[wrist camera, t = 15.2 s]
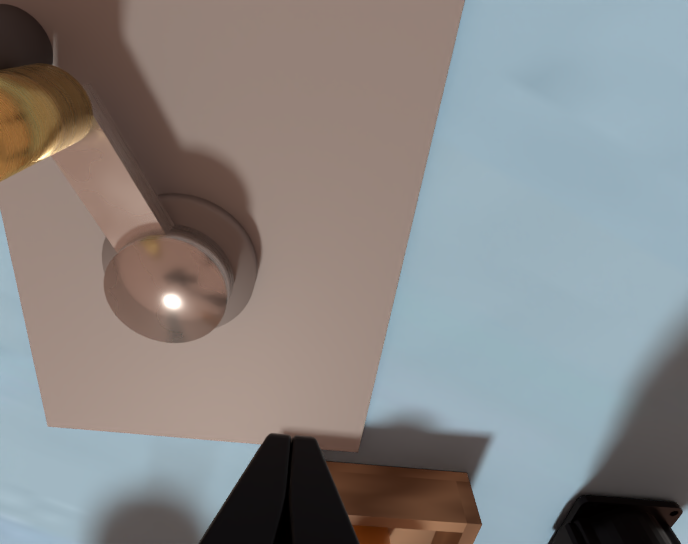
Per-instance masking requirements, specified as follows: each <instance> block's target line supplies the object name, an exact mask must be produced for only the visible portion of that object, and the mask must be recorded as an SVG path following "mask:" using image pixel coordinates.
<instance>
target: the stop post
mask: <svg viewBox="0 0 688 544" xmlns="http://www.w3.org/2000/svg"><path fill="white" fill-rule="evenodd" d="M36 63H43V64H50V65H52V64H53V50H52V45H51V42H50V40H49V37H48V35H47V34H46V32H45V30H44V29H43V27H42V26H41V25H40V24H39V22H38V21H37V20H36V19H35V18H34V17H32V16H31V15H30V14H29V13H27V12H26V11H24V10H22V9H20V8H18V7H15V6H12V5H8V4H0V70H2V69H8V68H14V67H19V66H25V65H30V64H36Z"/></svg>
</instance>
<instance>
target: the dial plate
mask: <svg viewBox="0 0 688 544" xmlns="http://www.w3.org/2000/svg"><path fill="white" fill-rule="evenodd" d="M464 2H465V0H0V4H8V5H12V6H15V7H18V8H20V9H22V10H24V11H26V12H27V13H29V14H30V15H31V16H32V17H34V18H35V19H36V20H37V21H38V22H39V24H40V25H41V26H42V27H43V29H44V30H45V32H46V34H47V35H48V37H49V40H50V42H51V45H52V50H53V64H52V65H53V66H56V67H59V68H61V69H63V70H65V71H66V72H68V73H69V74H70V75H72V76H73V77H74V78H75V79H76V80H77V81H78V82H79V83H80V84H81V85H85V84H89V83H91V84H92V86H93V87H94V89H95V91H96V92H97V94H98V96H99V97H100V99H101V101H102V102H103V104H104V106H105V107H106V109H107V111H108V113H109V114H110V116H111V118H112V119H113V121H114V123H115V124H116V126H117V128H118V129H119V131H120V133H121V134H122V136H123V138H124V140H125V141H126V143H127V145H128V146H129V148H130V150H131V151H132V153H133V155H134V156H135V158H136V160H137V162H138V163H139V165H140V167H141V168H142V170H143V172H144V173H145V175H146V177H147V178H148V180H149V182H150V183H151V185H152V187H153V189H154V190H155V192H156V194H157V195H158V197H159V199H160V200H161V202H162V204H163V205H164V207H165V209H166V210H167V212H168V214H169V216H170V217H171V219H172V221H173V222H174V224H178V225H183V226H187V227H190V228H193V229H195V230H198V231H200V232H202V233H203V234H205V235H207V236H208V237H210V238H211V239H212V240H214V241H215V242H216V243H217V244H218V245H219V246H220V247H221V249H222V250H223V251H224V253H225V254H226V256H227V257H228V259H229V261H230V263H231V267H232V270H233V276H234V284H233V290H232V293H231V296H230V299H229V301H228V304H227V307H226V310H225V313H224V315H223V317H222V319H221V321H220V323H219V324H218V325H217V327H216V328H215V329H214V330H213V331H211V332H210V333H209V334H207V335H205V336H204V337H202V338H199V339H197V340H194V341H190V342H184V343H166V342H160V341H156V340H152V339H149V338H147V337H144V336H142V335H140V334H138V333H136V332H134V331H133V330H131V329H130V328H128V327H127V326H126V325H125V324H123V323H122V322H121V321H120V320H119V319H118V317H117V316H116V315H115V314H114V313H113V311H112V309H111V308H110V306H109V304H108V302H107V300H106V296H105V293H104V274H105V271H106V268H107V266H108V264H109V263H110V261H111V260H112V259H113V257H114V256H115V255H116V254H117V252H116V251H115V249H114V248H113V246H112V245H111V243H110V242H109V240H108V239H107V237H106V236H105V234H104V233H103V231H102V230H101V228H100V227H99V226H98V224H97V223H96V221H95V220H94V218H93V217H92V215H91V214H90V212H89V211H88V209H87V208H86V206H85V205H84V204H83V202H82V201H81V199H80V198H79V196H78V195H77V193H76V192H75V190H74V189H73V187H72V186H71V184H70V183H69V181H68V180H67V179H66V177H65V176H64V174H63V173H62V171H61V170H60V168H59V167H58V165H57V164H56V162H55V161H54V159H53V158H52V156H49V157H47V158H45V159H43V160H42V161H40V162H38V163H36V164H34V165H32V166H30V167H28V168H26V169H24V170H22V171H20V172H18V173H16V174H14V175H12V176H10V177H9V178H7V179H5V180H3V181H1V182H0V209H1V214H2V218H3V223H4V227H5V232H6V237H7V241H8V246H9V250H10V255H11V260H12V264H13V269H14V273H15V278H16V283H17V287H18V292H19V296H20V301H21V306H22V310H23V315H24V319H25V324H26V329H27V333H28V338H29V342H30V347H31V352H32V356H33V361H34V365H35V370H36V374H37V379H38V384H39V388H40V393H41V397H42V402H43V407H44V411H45V416H46V420H47V425H48V426H49V427H61V428H72V429H84V430H96V431H108V432H120V433H132V434H144V435H156V436H168V437H180V438H192V439H203V440H215V441H227V442H239V443H251V444H262V443H263V441H264V440H265V438H266V437H267V436H268V435H269V434H270V433H278V434H288V435H290V436H291V438H293V436H295V435H301V436H312V437H314V438H316V440H317V442H318V444H319V446H320V449H323V450H334V451H346V452H358V450H359V446H360V442H361V437H362V433H363V429H364V425H365V420H366V416H367V412H368V408H369V403H370V399H371V395H372V391H373V387H374V382H375V378H376V374H377V370H378V365H379V361H380V357H381V353H382V349H383V344H384V340H385V336H386V332H387V327H388V323H389V319H390V315H391V310H392V306H393V302H394V298H395V294H396V289H397V285H398V281H399V277H400V272H401V268H402V264H403V260H404V255H405V251H406V247H407V243H408V239H409V234H410V230H411V226H412V222H413V217H414V213H415V209H416V205H417V201H418V196H419V192H420V188H421V184H422V179H423V175H424V171H425V167H426V162H427V158H428V154H429V150H430V146H431V141H432V137H433V133H434V129H435V124H436V120H437V116H438V112H439V107H440V103H441V99H442V95H443V91H444V86H445V82H446V78H447V74H448V69H449V65H450V61H451V57H452V53H453V48H454V44H455V40H456V36H457V31H458V27H459V23H460V19H461V14H462V10H463V6H464Z"/></svg>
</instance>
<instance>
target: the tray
mask: <svg viewBox="0 0 688 544" xmlns="http://www.w3.org/2000/svg"><path fill="white" fill-rule="evenodd" d="M326 463H327V466H328V468H329V471H330V473H331V475H332V478H333V480H334V483H335V485H336V487H337V490H338V492H339V495H340V497H341V500H342V502H343V504H344V507H345V509H346V512H347V514H348V516H349V519H350V521H351V524H352V525H359V526H373V527H388V530H389V535H390V544H473V543H474V540H475V538H476V536H477V534H478V532H479V530H480V528H481V526H482V523H481V519H480V516H479V512H478V509H477V506H476V502H475V499H474V495H473V492H472V488H471V485H470V482H469V478H468V475H467V473H462V472H450V471H438V470H425V469H413V468H401V467H389V466H376V465H364V464H352V463H340V462H327V461H326Z"/></svg>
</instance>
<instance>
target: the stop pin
mask: <svg viewBox="0 0 688 544" xmlns="http://www.w3.org/2000/svg"><path fill="white" fill-rule="evenodd" d="M352 526H353V528H354V531H355V533H356V536H357V538H358V541H359V543H360V544H390V535H389V530H388V527H373V526H359V525H352Z"/></svg>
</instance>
